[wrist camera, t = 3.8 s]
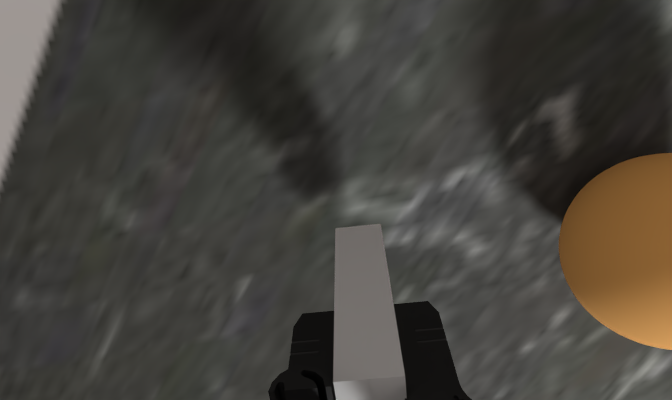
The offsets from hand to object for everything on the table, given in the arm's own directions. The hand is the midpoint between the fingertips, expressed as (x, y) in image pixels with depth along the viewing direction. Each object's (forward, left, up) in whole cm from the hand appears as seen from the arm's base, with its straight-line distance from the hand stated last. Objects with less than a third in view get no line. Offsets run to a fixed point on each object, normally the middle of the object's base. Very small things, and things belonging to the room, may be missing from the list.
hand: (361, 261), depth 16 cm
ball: (+9, 0, +1) cm, 9 cm away
